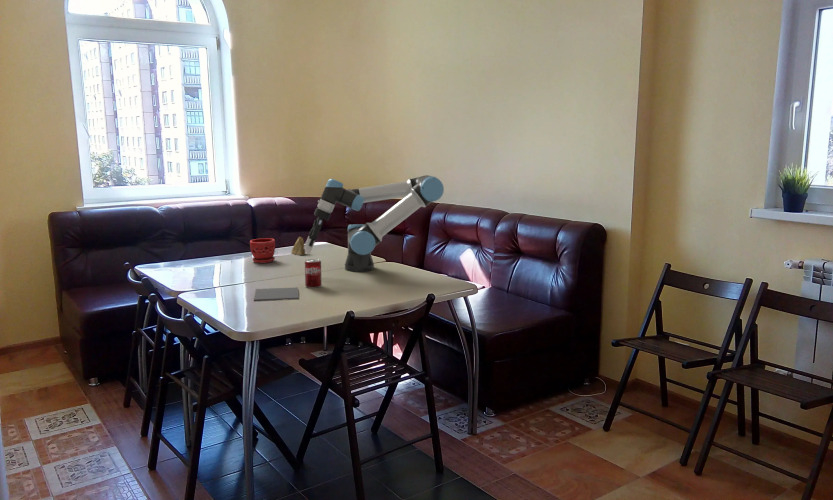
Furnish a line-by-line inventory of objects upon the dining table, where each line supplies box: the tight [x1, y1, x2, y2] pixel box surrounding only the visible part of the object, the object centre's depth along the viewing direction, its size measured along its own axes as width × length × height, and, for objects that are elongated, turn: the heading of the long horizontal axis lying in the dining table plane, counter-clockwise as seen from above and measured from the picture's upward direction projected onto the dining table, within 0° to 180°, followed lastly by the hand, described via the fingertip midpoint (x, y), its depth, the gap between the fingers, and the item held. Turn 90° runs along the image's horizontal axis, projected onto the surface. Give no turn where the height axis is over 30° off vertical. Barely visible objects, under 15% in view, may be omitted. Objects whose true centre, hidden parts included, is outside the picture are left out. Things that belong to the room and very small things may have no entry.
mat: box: [253, 286, 300, 302], centre depth 262 cm, size 18×18×1 cm
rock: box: [290, 236, 306, 256], centre depth 352 cm, size 11×9×10 cm
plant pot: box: [249, 237, 276, 264], centre depth 330 cm, size 13×13×12 cm
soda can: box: [304, 258, 322, 289], centre depth 276 cm, size 7×7×12 cm
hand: (306, 251), depth 293 cm, fingers open, 13 cm apart
